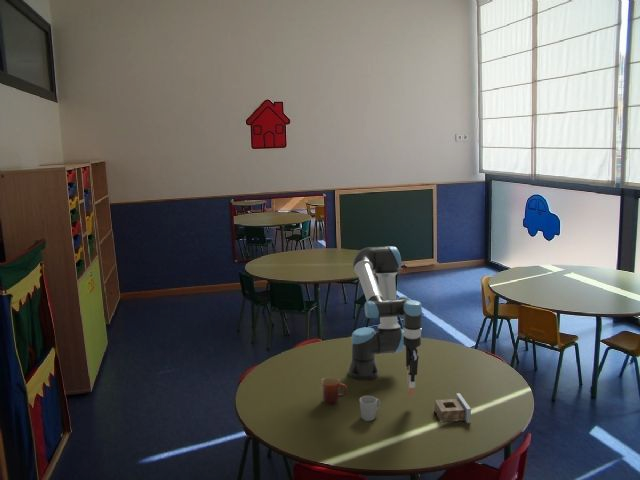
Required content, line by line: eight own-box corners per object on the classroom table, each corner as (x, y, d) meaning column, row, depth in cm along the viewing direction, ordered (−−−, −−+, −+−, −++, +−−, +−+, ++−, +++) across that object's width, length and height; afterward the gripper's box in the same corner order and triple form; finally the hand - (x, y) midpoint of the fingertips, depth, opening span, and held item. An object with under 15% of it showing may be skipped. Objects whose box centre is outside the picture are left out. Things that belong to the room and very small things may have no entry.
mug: (319, 405, 249) (318, 384, 247) (325, 396, 257) (324, 375, 255) (344, 408, 245) (344, 387, 243) (349, 399, 253) (349, 379, 251)
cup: (356, 416, 238) (355, 398, 236) (374, 410, 243) (374, 392, 242) (366, 424, 232) (366, 405, 230) (385, 417, 237) (385, 399, 235)
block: (441, 422, 232) (441, 411, 231) (434, 410, 242) (434, 400, 241) (464, 420, 233) (464, 409, 232) (456, 408, 242) (456, 398, 242)
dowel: (408, 396, 243) (409, 367, 240) (407, 393, 246) (407, 364, 243) (414, 396, 243) (415, 367, 240) (413, 393, 246) (414, 364, 243)
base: (466, 423, 231) (467, 409, 230) (455, 406, 244) (456, 393, 243) (470, 422, 231) (470, 408, 230) (459, 406, 245) (459, 393, 243)
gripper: (425, 342, 231) (424, 393, 236) (416, 329, 246) (415, 377, 251) (408, 343, 231) (407, 394, 236) (399, 329, 245) (398, 378, 251)
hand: (411, 385), depth 243 cm, fingers closed on dowel, 2 cm apart
